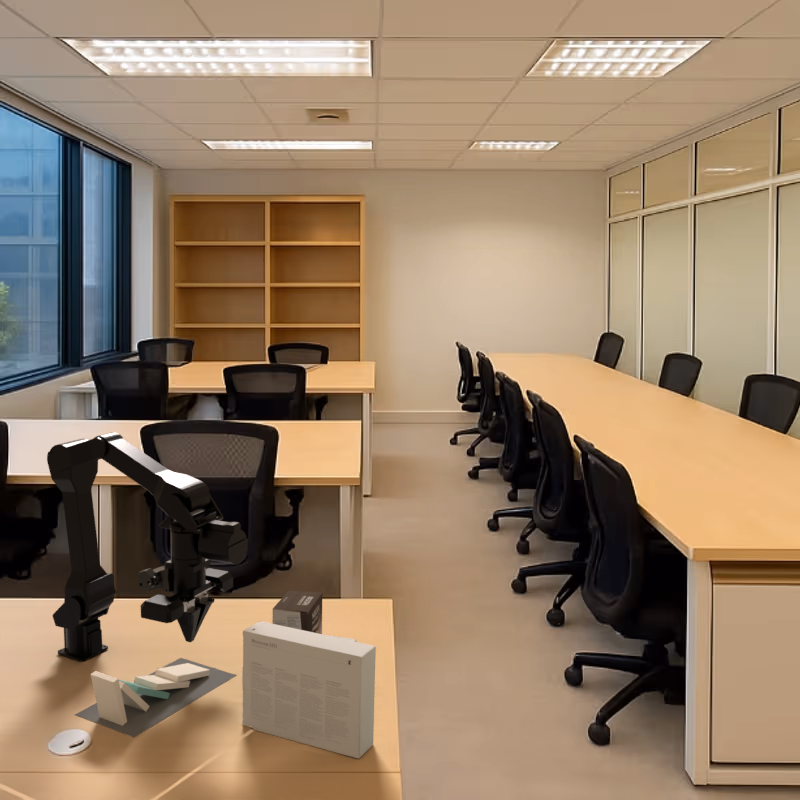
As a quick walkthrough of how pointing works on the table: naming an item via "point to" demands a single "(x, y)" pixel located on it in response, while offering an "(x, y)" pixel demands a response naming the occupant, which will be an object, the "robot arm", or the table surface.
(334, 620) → the table surface
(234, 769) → the table surface
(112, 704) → the domino
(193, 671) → the domino
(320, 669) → the skincare box
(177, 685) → the domino
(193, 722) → the table surface
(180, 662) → the mat
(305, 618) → the coffee box
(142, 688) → the teal tile
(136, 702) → the domino
